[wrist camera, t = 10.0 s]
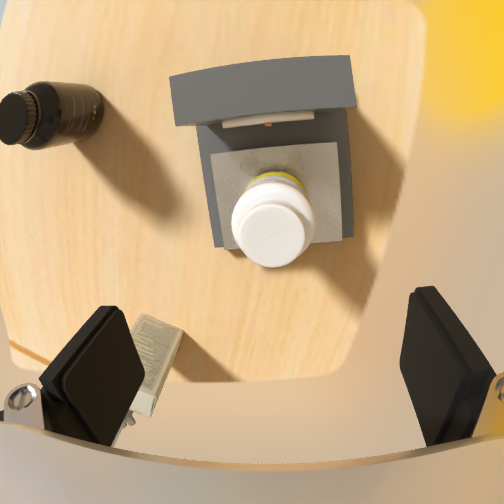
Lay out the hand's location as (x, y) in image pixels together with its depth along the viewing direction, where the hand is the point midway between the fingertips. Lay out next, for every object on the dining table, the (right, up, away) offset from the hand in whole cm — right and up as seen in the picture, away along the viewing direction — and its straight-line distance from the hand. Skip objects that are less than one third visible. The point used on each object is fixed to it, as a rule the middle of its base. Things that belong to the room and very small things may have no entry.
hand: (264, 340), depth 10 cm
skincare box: (-12, -8, +31) cm, 34 cm away
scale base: (+2, +12, +21) cm, 24 cm away
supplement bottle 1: (-20, +19, +21) cm, 34 cm away
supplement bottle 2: (+2, +7, +19) cm, 20 cm away
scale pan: (+2, +8, +20) cm, 22 cm away
